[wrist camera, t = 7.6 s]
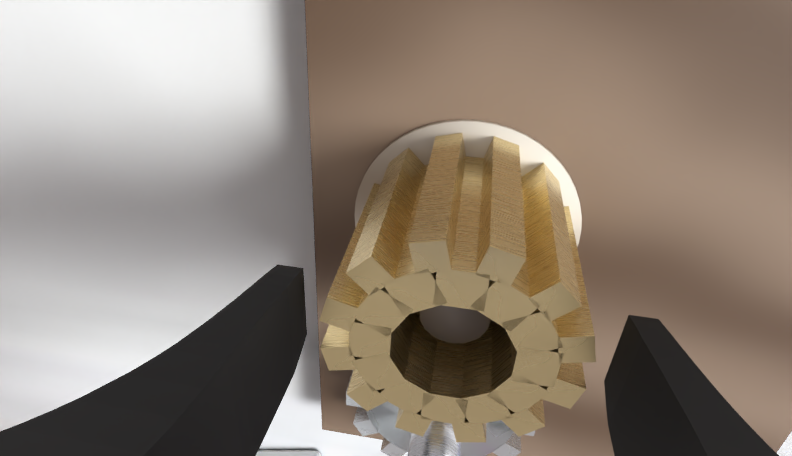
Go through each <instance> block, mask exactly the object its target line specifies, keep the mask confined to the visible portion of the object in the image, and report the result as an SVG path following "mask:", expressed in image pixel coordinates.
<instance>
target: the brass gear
mask: <svg viewBox="0 0 792 456" xmlns="http://www.w3.org/2000/svg"><path fill="white" fill-rule="evenodd" d="M440 305H443V306H450V307H457V308H464V309H471V310H477V311H478V312H480V313H481V314H483V315H485V316H486V317H488V318H489V319H490V324H489V327H488V329H487V331H486V332H485V333H484V334H483V335H482V336H481V337H479V338H478V339H476V340H474V341H471V342H467V343H449V342H445V341H442V340H439V339H437V338H435V337H434V336H432V335H431V334H430V333H428V332H427V331H426V329H425V328H424V327H423V325H422V323H421V320H420V311H422V310H425V309H429V308H433V307H436V306H440ZM319 321H321V322H324V323H327V324H329V326H328V329H327V332H326V334H325V337H324V339H323V342H322V345H321V347H320V349H321V351H322V354H323V356H324V359H325V362H326V364H327V367H328V369H329V371H331V370H353V374H352V377H351V380H350V384H349V387H348V390H347V395H348V396H349V397H351V398H352V399H353V400H354V401H355V402H356V403H358V404H359V405H360V406H361V407H362V408H364V409H365V410H366V411H369V410H371V409H373V408H375V407H377V406H379V405H381V404H383V403H385V402H387V401H388V402H389V403H391V404H393V405H395V406H397V407H398V408H399V410H398V415H397V420H396V426H395V427H396V428H399V429H402V430H405V431H408V432H411V433H414V434H417V435H419V436H422V437H423V436H424V434H425V432H426V430H427V429H428V427H429V425H430V423H431V422H432V421H438V422H444V423H450V424H452V427H453V431H454V435H455V439H456V442H486V425H487V423H488V422H493V421H498V420H502V421H503V422H504V423H505V424H506V425H507V426H508V427H509V428H510V429H511V430H512V431H513V432H514V433H515V434H517V435H518V436H522V435H524V434H527V433H530V432H532V431H535V430H537V429H540V428H542V427H545V419H544V406H543V400H546V401H549V402H552V403H555V404H557V405H560V406H563V407H566V408H569V409H571V408H572V406H573V405H574V404H575V403H576V401H577V400H578V399H579V398H580V396H581V395H582V394H583V393H584V391H585V390H586V384H585V378H584V371H583V365H582V363H583V362H596V354H595V335H594V330H593V324H592V319H591V314H590V309H589V304H588V299H587V294H586V289H585V284H584V279H583V274H582V269H581V264H580V259H579V254H578V249H577V244H576V239H575V234H574V229H573V224H572V219H571V214H570V209H569V206H564V205H563V200H562V195H561V189H560V184H559V181H558V180H557V178H556V177H555V176H554V175H553V173H552V172H551V171H550V170H549V168H548V167H547V166H546V165H545V164H544V163H542V164H540V165H539V166H537V167H536V168H534V169H533V170H531V171H530V172H528V173H527V174H525V175H524V176H521V167H520V151H519V145H517V144H514V143H511V142H509V141H506V140H503V139H501V138H498V137H495V136H493V138H492V141H491V143H490V145H489V147H488V149H487V151H486V154H485V156H484V158H479V157H470V156H466V152H465V146H464V139H463V133H456V134H448V135H441V136H436V137H435V141H434V145H433V149H432V152H431V156H430V160H429V164H427V165H424V164H423V163H422V162H421V161H420V160H419V158H418V157H417V156H416V155H415V154H414V153H413V152H412V151H411V150H410V149H409V147H408V148H407V149H406V150H404V151H403V152H402V153H400V154H399V155H398V156H397V157H395V158H394V159H393V160H391V161H390V162H389V164H388V167H387V169H386V172H385V174H384V177H383V180H382V182H381V185H379V184H376V183H374V185H373V187H372V189H371V192H370V194H369V197H368V199H367V202H366V204H365V206H364V209H363V211H362V214H361V216H360V218H359V221H358V223H357V226H356V228H355V230H354V233H353V235H352V238H351V240H350V243H349V245H348V247H347V250H346V252H345V255H344V257H343V259H342V262H341V264H340V267H339V269H338V271H337V274H336V276H335V279H334V281H333V284H332V286H331V288H330V291H329V293H328V296H327V298H326V301H325V304H324V307H323V310H322V313H321V317H320V320H319Z"/></svg>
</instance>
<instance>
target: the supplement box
mask: <svg viewBox="0 0 792 456" xmlns="http://www.w3.org/2000/svg"><path fill="white" fill-rule="evenodd" d="M256 456H322V455H321V453H320V452H319V451H309V450H304V451H300V450H280V451H275V450H261V451H258V452H257V454H256Z"/></svg>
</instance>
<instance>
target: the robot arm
mask: <svg viewBox="0 0 792 456" xmlns="http://www.w3.org/2000/svg"><path fill="white" fill-rule="evenodd" d="M306 335H307V329H306V311H305V293H304V275H303V268H297V267H290V266H283V265H277V266H275V267H274V268H273V269H271V270H270V271H269V272H268V273H266V274H265V275H264V276H263V277H262V278H260V279H259V280H258V281H257V282H256V283H254V284H253V285H252V286H251V287H250V288H248V289H247V290H246V291H245V292H243V293H242V294H241V295H240V296H239V297H237V298H236V299H235V300H234V301H232V302H231V303H230V304H229V305H227V306H226V307H225V308H224V309H222V310H221V311H220V312H218V313H217V314H216V315H215V316H213V317H212V318H211V319H209V320H208V321H207V322H205V323H204V324H203V325H201V326H200V327H199V328H197V329H196V330H194V331H193V332H192V333H190V334H189V335H187V336H186V337H185V338H183V339H182V340H180V341H179V342H178V343H176V344H175V345H173V346H172V347H170V348H169V349H167V350H166V351H164V352H162V353H161V354H159V355H158V356H156V357H154V358H153V359H151V360H149V361H148V362H146V363H144V364H143V365H141V366H139V367H138V368H136V369H134V370H132V371H131V372H129V373H127V374H125V375H123V376H121V377H119V378H118V379H116V380H114V381H112V382H110V383H108V384H106V385H104V386H102V387H100V388H98V389H96V390H94V391H92V392H90V393H88V394H87V395H85V396H83V397H81V398H78V399H76V400H74V401H72V402H70V403H68V404H65V405H63V406H61V407H59V408H57V409H54V410H52V411H50V412H47V413H45V414H43V415H40V416H38V417H36V418H33V419H31V420H29V421H26V422H24V423H21V424H19V425H16V426H14V427H11V428H9V429H6V430H3V431H1V432H0V456H256V454H257V452H258V449H259V447H260V445H261V443H262V441H263V439H264V437H265V435H266V433H267V430H268V428H269V426H270V424H271V422H272V420H273V418H274V416H275V413H276V411H277V409H278V407H279V405H280V403H281V401H282V399H283V396H284V394H285V392H286V390H287V388H288V386H289V384H290V381H291V379H292V377H293V375H294V372H295V369H296V366H297V363H298V360H299V357H300V354H301V351H302V348H303V345H304V341H305V338H306ZM604 386H605V399H606V410H607V420H608V428H609V432H610V437H611V442H612V446H613V451H614V456H779V455H778V454H777V453H776V452H775V451H774V450H773V449H772V448H771V447H770V446H769V445H768V444H767V443H766V442H765V441H764V440H763V439H762V438H761V437H760V436H759V435H758V434H757V433H756V432H755V431H754V430H753V429H752V428H751V427H750V426H749V425H748V424H747V422H746V421H745V420H744V419H743V418H742V417H741V416H740V415H739V414H738V413H737V412H736V411H735V410H734V408H733V407H732V406H731V405H730V404H729V403H728V402H727V401H726V399H725V398H724V397H723V396H722V395H721V394H720V393H719V391H718V390H717V389H716V388H715V387H714V386H713V384H712V383H711V382H710V381H709V380H708V379H707V377H706V376H705V375H704V374H703V373H702V371H701V370H700V369H699V368H698V367H697V365H696V364H695V363H694V362H693V361H692V359H691V358H690V357H689V356H688V354H687V353H686V352H685V351H684V350H683V348H682V347H681V346H680V345H679V343H678V342H677V341H676V340H675V338H674V337H673V336H672V335H671V333H670V332H669V331H668V330H667V329H666V327H665V326H664V325H663V324H662V323H661V321H660V320H659V319H655V318H648V317H641V316H634V315H628V318H627V321H626V323H625V326H624V329H623V331H622V334H621V337H620V339H619V342H618V345H617V347H616V350H615V353H614V355H613V358H612V361H611V363H610V366H609V369H608V372H607V374H606V377H605V380H604Z"/></svg>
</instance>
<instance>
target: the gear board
mask: <svg viewBox="0 0 792 456" xmlns="http://www.w3.org/2000/svg"><path fill="white" fill-rule="evenodd" d="M305 15H306V40H307V64H308V89H309V113H310V138H311V163H312V187H313V212H314V237H315V261H316V286H317V311H318V335H319V360H320V384H321V409H322V429H324V430H329V431H335V432H341V433H347V434H353V435H358V436H362V435H361V433H360V432H359V431H358V429H357V428H356V427H355V425H354V424H353V422H354V418H355V414H356V411H357V407H355V406H349V405H346V390H347V386H348V383H349V380H350V376H351V373H352V370H331V371H329V369H328V367H327V364H326V362H325V359H324V356H323V354H322V351H321V349H320V347H321V345H322V342H323V339H324V337H325V334H326V332H327V329H328V326H329V324H327V323H324V322H321V321H319V320H320V317H321V313H322V310H323V307H324V304H325V301H326V298H327V296H328V293H329V291H330V288H331V286H332V284H333V281H334V279H335V276H336V274H337V271H338V269H339V267H340V264H341V262H342V259H343V257H344V255H345V252H346V250H347V247H348V245H349V243H350V240H351V238H352V235H353V233H354V230H355V228H356V226H357V223H358V221H359V218H360V216H361V214H362V211H363V209H364V206H365V204H366V202H367V199H368V197H369V194H370V192H371V189H372V187H373V185H374V183H376V184H379V185H381V182H382V180H383V177H384V174H385V172H386V169H387V167H388V164H389V162H390V161H391V160H393V159H394V158H395V157H397V156H398V155H399V154H400V153H402V152H403V151H404V150H406V149H407V148H408V147H409V149H410V150H411V151H412V152H413V153H414V154H415V155H416V156H417V157H418V158H419V160H420V161H421V162H422V163H423V164H424V165H427V164H429V160H430V156H431V152H432V149H433V145H434V141H435V137H436V136H441V135H448V134H456V133H463V139H464V146H465V152H466V156H470V157H479V158H484V156H485V154H486V151H487V149H488V147H489V145H490V143H491V141H492V138H493V136H495V137H498V138H501V139H503V140H506V141H509V142H511V143H514V144H517V145H519V151H520V167H521V176H524V175H525V174H527V173H528V172H530V171H531V170H533V169H534V168H536V167H537V166H539V165H540V164H542V163H544V164H545V165H546V166H547V167H548V168H549V170H550V171H551V172H552V173H553V175H554V176H555V177H556V178H557V180H558V181H559V184H560V189H561V195H562V200H563V205H564V206H569V209H570V214H571V219H572V224H573V229H574V234H575V239H576V244H577V249H578V254H579V259H580V264H581V269H582V274H583V279H584V284H585V289H586V294H587V299H588V304H589V309H590V314H591V319H592V324H593V330H594V335H595V354H596V362H583V363H582V365H583V371H584V378H585V384H586V390H585V391H584V393H583V394H582V395H581V396H580V398H579V399H578V400H577V401H576V403H575V404H574V405H573V406H572V408H571V409H569V408H566V407H563V406H560V405H557V404H555V403H552V402H549V401H546V400H543V406H544V419H545V427H542V428H540V429H537V430H535V434H534V436H529V435H522V436H521V453H519V454H518V455H516V456H614V451H613V446H612V442H611V437H610V432H609V428H608V420H607V410H606V399H605V386H604V380H605V377H606V374H607V372H608V369H609V366H610V363H611V361H612V358H613V355H614V353H615V350H616V347H617V345H618V342H619V339H620V337H621V334H622V331H623V329H624V326H625V323H626V321H627V318H628V315H634V316H641V317H648V318H655V319H659V320H660V321H661V323H662V324H663V325H664V326H665V327H666V329H667V330H668V331H669V332H670V333H671V335H672V336H673V337H674V338H675V340H676V341H677V342H678V343H679V345H680V346H681V347H682V348H683V350H684V351H685V352H686V353H687V354H688V356H689V357H690V358H691V359H692V361H693V362H694V363H695V364H696V365H697V367H698V368H699V369H700V370H701V371H702V373H703V374H704V375H705V376H706V377H707V379H708V380H709V381H710V382H711V383H712V384H713V386H714V387H715V388H716V389H717V390H718V391H719V393H720V394H721V395H722V396H723V397H724V398H725V399H726V401H727V402H728V403H729V404H730V405H731V406H732V407H733V408H734V410H735V411H736V412H737V413H738V414H739V415H740V416H741V417H742V418H743V419H744V420H745V421H746V422H747V424H748V425H749V426H750V427H751V428H752V429H753V430H754V431H755V432H756V433H757V434H758V435H759V436H760V437H761V438H762V439H763V440H764V441H765V442H766V443H767V444H768V445H769V446H770V447H771V448H772V449H773V450H774V451H775V452H776V453H777V451H778V450H779V448H780V447H781V445H782V444H783V443H784V441H785V440H786V438H787V437H788V435H789V434H790V433H791V431H792V0H305ZM420 320H421V323H422V325H423V327H424V328H425V329H426V331H427V332H428V333H430V334H431V335H432V336H434V337H435V338H437V339H439V340H442V341H445V342H449V343H467V342H471V341H474V340H476V339H478V338H479V337H481V336H482V335H483V334H484V333H485V332H486V331H487V329H488V327H489V324H490V319H489V318H488V317H486V316H485V315H483V314H481V313H480V312H478V311H477V310H471V309H464V308H457V307H450V306H443V305H440V306H436V307H433V308H429V309H425V310H422V311H420ZM364 437H370V438H376V439H381V440H383V438H384V437H383V436H382V435H381V434H380V433H376V434H371V435H366V436H364ZM486 456H498V455H496V454H494V453H493V452H492V453H489V454H487V455H486Z"/></svg>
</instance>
